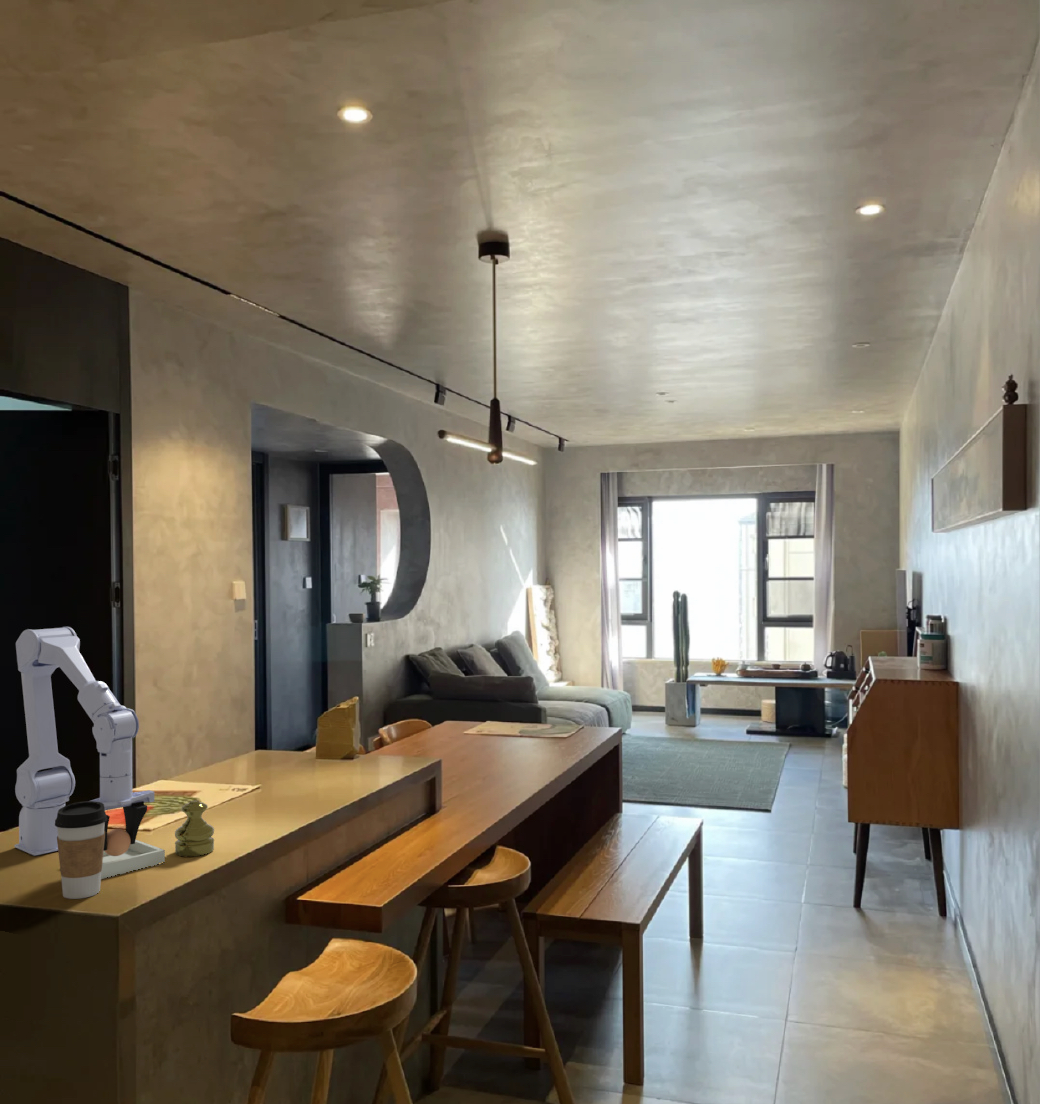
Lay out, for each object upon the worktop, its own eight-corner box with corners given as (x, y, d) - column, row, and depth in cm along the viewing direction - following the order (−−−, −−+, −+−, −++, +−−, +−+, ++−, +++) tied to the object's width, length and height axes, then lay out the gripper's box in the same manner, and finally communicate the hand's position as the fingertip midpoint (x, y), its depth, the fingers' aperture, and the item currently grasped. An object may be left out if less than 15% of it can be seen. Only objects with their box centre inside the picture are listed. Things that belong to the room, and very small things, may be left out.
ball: (98, 856, 192) (96, 830, 191) (124, 849, 195) (122, 823, 195) (110, 861, 188) (108, 835, 188) (135, 854, 192) (134, 828, 192)
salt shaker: (172, 858, 195) (172, 806, 195) (177, 847, 202) (177, 797, 202) (212, 856, 196) (211, 804, 197) (216, 845, 204) (215, 795, 204)
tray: (68, 865, 191) (68, 852, 191) (131, 850, 200) (131, 838, 200) (100, 879, 183) (100, 865, 183) (164, 863, 192) (164, 849, 192)
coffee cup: (115, 884, 180) (114, 800, 180) (96, 901, 171) (96, 812, 171) (67, 885, 179) (66, 801, 179) (46, 902, 171) (45, 813, 171)
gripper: (88, 784, 183) (89, 859, 183) (162, 771, 194) (162, 841, 194) (70, 778, 188) (71, 851, 188) (143, 766, 199) (144, 835, 199)
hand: (116, 846), depth 192 cm, fingers closed on ball, 5 cm apart
